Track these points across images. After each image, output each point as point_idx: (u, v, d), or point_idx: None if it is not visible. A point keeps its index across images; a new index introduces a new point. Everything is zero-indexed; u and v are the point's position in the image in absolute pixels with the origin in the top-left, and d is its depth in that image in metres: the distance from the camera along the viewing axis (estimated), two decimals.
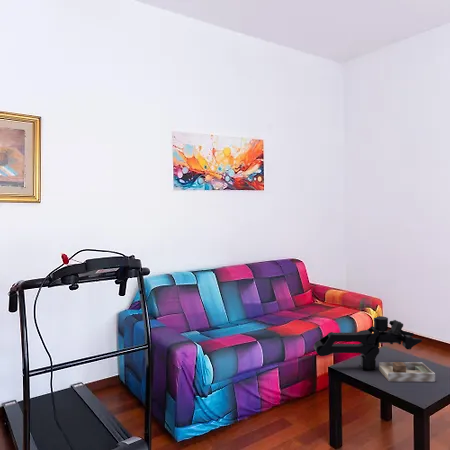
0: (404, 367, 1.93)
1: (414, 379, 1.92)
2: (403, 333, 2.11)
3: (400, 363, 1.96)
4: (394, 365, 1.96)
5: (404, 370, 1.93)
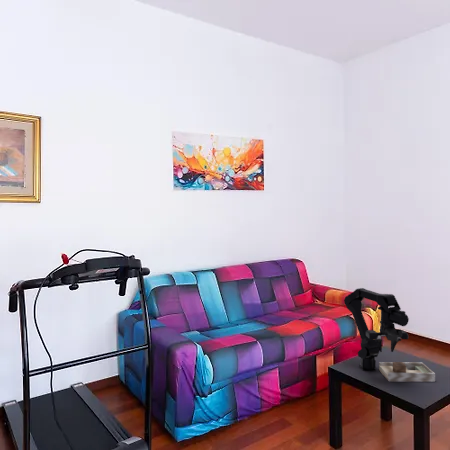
0: (404, 367, 1.93)
1: (414, 379, 1.92)
2: (393, 341, 1.94)
3: (400, 363, 1.96)
4: (394, 365, 1.96)
5: (404, 370, 1.93)
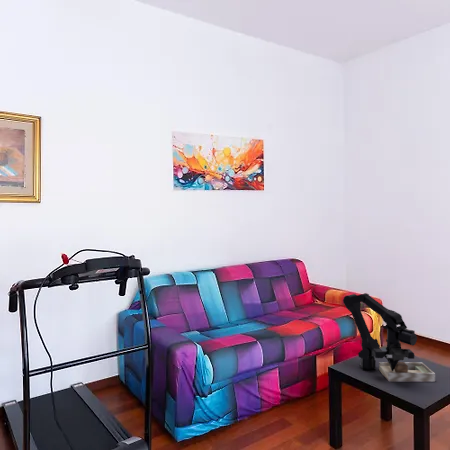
0: (406, 367, 1.93)
1: (414, 379, 1.92)
2: (393, 360, 1.95)
3: (402, 363, 1.96)
4: (396, 365, 1.96)
5: (406, 370, 1.93)
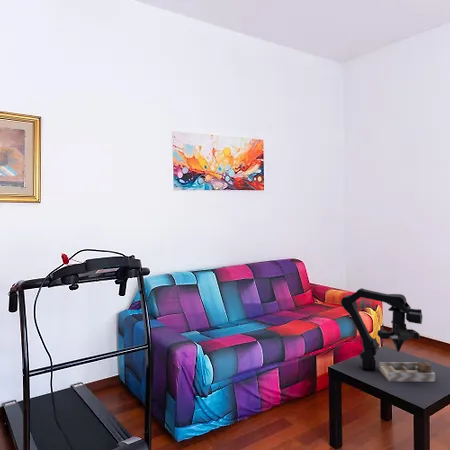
0: (429, 367, 1.93)
1: (414, 379, 1.92)
2: (399, 341, 1.98)
3: (425, 363, 1.96)
4: (419, 365, 1.96)
5: (429, 370, 1.93)
